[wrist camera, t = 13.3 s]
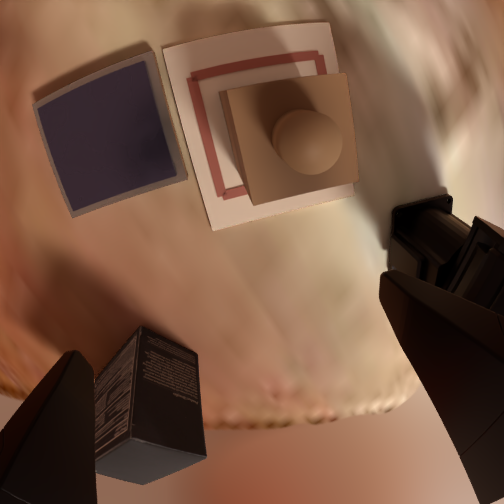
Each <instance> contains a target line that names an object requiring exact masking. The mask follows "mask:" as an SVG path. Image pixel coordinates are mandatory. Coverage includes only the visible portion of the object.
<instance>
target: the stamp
mask: <svg viewBox="0 0 504 504" xmlns="http://www.w3.org/2000/svg"><path fill="white" fill-rule="evenodd" d="M218 93H219V97H220V101H221V105H222V109H223V113H224V118H225V122H226V126H227V130H228V134H229V139H230V143H231V147H232V151H233V155H234V160H235V164H236V168H237V171H238V174H239V176H240V178H241V180H242V182H243V185H244V187H245V189H246V191H247V193H248V196H249V198H250V200H251V202H252V204H253V206H256V205H260V204H264V203H268V202H272V201H276V200H280V199H284V198H288V197H292V196H297V195H301V194H305V193H309V192H314V191H318V190H322V189H327V188H331V187H336V186H340V185H345V184H349V183H354V182H359V174H358V162H357V151H356V141H355V132H354V123H353V115H352V108H351V101H350V94H349V88H348V81H347V75H346V73H337V74H323V75H312V76H303V77H295V78H288V79H281V80H275V81H269V82H263V83H257V84H252V85H247V86H242V87H237V88H233V89H228V90H224V91H219V92H218Z"/></svg>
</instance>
